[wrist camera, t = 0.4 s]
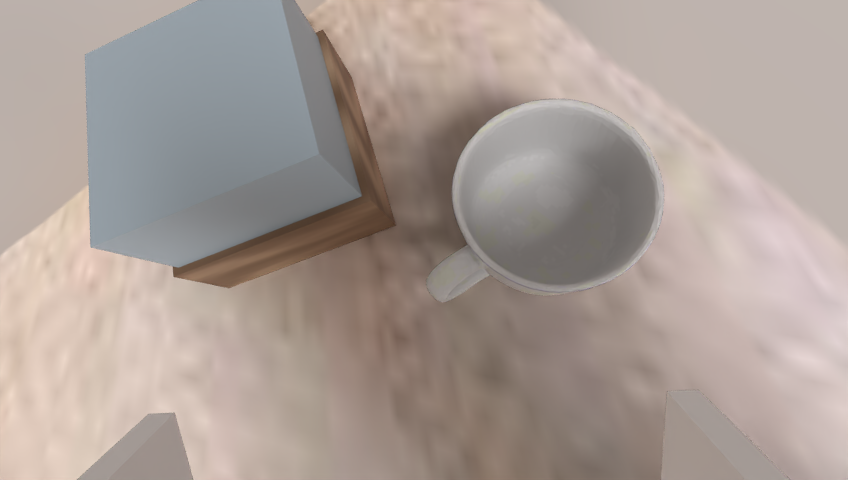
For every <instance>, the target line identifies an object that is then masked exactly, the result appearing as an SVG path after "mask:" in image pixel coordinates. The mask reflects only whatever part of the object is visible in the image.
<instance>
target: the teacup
mask: <svg viewBox="0 0 848 480" xmlns="http://www.w3.org/2000/svg"><path fill="white" fill-rule="evenodd" d="M452 204H453V210H454V214H455V218H456V221H457V224H458V226H459V228H460V230H461V232H462V234H463V237H464V238H465V240H466V242H467V245H466V246H465V247H463V248H461V249H459V250H458V251H456V252H455V253H453V254H452V255H450V256H448V257H447V258H446V259H445V260H443V261H442V262H441V263H440V264H439V265H437V266H436V267H435V268H434V270H433V271H432V272H431V273H430V274H429V276H428V278H427V280H426V286H427V289H428V291H429V293H430V294H431V295H432V296H433V297H434V298H435V299H436V300H437V301H440V302H447V301H450V300H452V299H453V298H455V297H457V296H458V295H460V294H462V293H464V292H465V291H466V290H468V289H469V288H471V287H472V286H474V285H475V284H476V283H478V282H479V281H481V280H482V279H484V278H486V277H488V276H490V275H491V276H492V277H494V278H495V279H497V280H498V281H500V282H501V283H503V284H505V285H507V286H509V287H511V288H513V289H516V290H518V291H521V292H525V293H529V294H534V295H548V296H550V295H562V294H567V293H572V292H576V291H583V290H587V289H590V288H593V287H596V286H599V285H602V284H604V283H606V282H608V281H610V280H612V279H614V278H616V277H617V276H619V275H621V274H622V273H624V272H625V271H627V270H628V269H630V268H631V267H632V266H633V265H634V264H635V263H636V262H637V261H638V260H639V259H640V258H641V256H642V255H643V254H644V253H645V251H646V250H647V249H648V247H649V246H650V244H651V243H652V241H653V239H654V238H655V235H656V233H657V230H658V228H659V226H660V223H661V218H662V214H663V206H664V186H663V181H662V177H661V174H660V171H659V167H658V165H657V162H656V160H655V158H654V156H653V154H652V152H651V150H650V148H649V147H648V146H647V144H646V143H645V142H644V140H643V139H642V138H641V136H640V135H639V134H638V133H637V132H636V130H635V129H634V128H633V127H631V126H629V125H628V124H627V123H626V122H625V121H623V120H622V119H621V118H619V117H618V116H616V115H614V114H613V113H611V112H610V111H607V110H605V109H603V108H600V107H598V106H596V105H593V104H590V103H586V102H582V101H576V100H570V99H544V100H536V101H532V102H527V103H523V104H520V105H518V106H514V107H512V108H509V109H507V110H505V111H503V112H502V113H500V114H498V115H497V116H495V117H493V118H492V119H490V120H489V121H487V122H486V123H485V124H484V126H482V127H481V128H480V129H479V130H478V132H477V133H476V134H475V135H474V136H473V137H472V138H471V139H470V140H469V142H468V143H467V145H466V146H465V148H464V149H463V151H462V153H461V155H460V157H459V159H458V162H457V165H456V169H455V173H454V176H453V182H452Z"/></svg>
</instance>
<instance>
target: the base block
mask: <svg viewBox="0 0 848 480" xmlns="http://www.w3.org/2000/svg"><path fill="white" fill-rule="evenodd" d="M316 35H317V36H318V39H319V43H320V46H321V50H322V53H323V57H324V61H325V64H326V68H327V71H328V75H329V79H330V82H331V86H332V89H333V93H334V97H335V100H336V104H337V108H338V111H339V115H340V118H341V122H342V126H343V129H344V133H345V136H346V140H347V144H348V147H349V151H350V154H351V158H352V162H353V165H354V169H355V173H356V176H357V180H358V183H359V187H360V191H361V194H362V196H361V197H359V198H356V199H354V200H351V201H349V202H346V203H343V204H341V205H338V206H336V207H333V208H331V209H328V210H326V211H323V212H320V213H318V214H315V215H313V216H310V217H308V218H305V219H302V220H300V221H297V222H295V223H292V224H290V225H287V226H284V227H282V228H279V229H277V230H274V231H272V232H269V233H267V234H264V235H261V236H259V237H256V238H254V239H251V240H249V241H246V242H243V243H241V244H238V245H236V246H233V247H231V248H228V249H225V250H223V251H220V252H218V253H215V254H212V255H210V256H207V257H205V258H202V259H200V260H197V261H194V262H192V263H189V264H187V265H184V266H182V267H179V268H178V267H174V266H173V275H174V277H177V278H182V279H187V280H192V281H197V282H202V283H207V284H212V285H217V286H222V287H227V288H230V287H233V286H236V285H238V284H241V283H244V282H246V281H249V280H252V279H254V278H257V277H260V276H262V275H265V274H268V273H270V272H273V271H276V270H278V269H281V268H284V267H286V266H289V265H292V264H294V263H297V262H300V261H302V260H305V259H308V258H310V257H313V256H316V255H318V254H321V253H324V252H326V251H329V250H332V249H334V248H337V247H340V246H342V245H345V244H348V243H350V242H353V241H356V240H358V239H361V238H364V237H366V236H369V235H372V234H374V233H377V232H380V231H382V230H385V229H387V228H390V227H393V226H395V225H396V224H395V221H394V217H393V214H392V211H391V207H390V204H389V201H388V197H387V194H386V191H385V187H384V184H383V181H382V177H381V174H380V171H379V167H378V164H377V161H376V157H375V154H374V151H373V147H372V144H371V141H370V137H369V134H368V131H367V127H366V124H365V121H364V117H363V114H362V111H361V107H360V104H359V101H358V97H357V94H356V91H355V87H354V84H353V81H352V77H351V76H350V74H349V72H348V71H347V69H346V67H345V66H344V64H343V62H342V61H341V59H340V57H339V56H338V54H337V52H336V51H335V49H334V47H333V46H332V44H331V43H330V41H329V39H328V38H327V36H326V34H325V33H324V31H323V30H321V31H319V32H317V33H316Z"/></svg>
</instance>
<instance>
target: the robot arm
mask: <svg viewBox="0 0 848 480" xmlns="http://www.w3.org/2000/svg"><path fill="white" fill-rule="evenodd" d="M77 480H193V476H192V473H191V469H190V465H189V462H188V458H187V455H186V451H185V448H184V444H183V441H182V437H181V434H180V430H179V426H178V423H177V419H176V416H175V413H158V414H148V415H147V416H146V417H145V418H144V419H143V420H141V421H140V422H139V423H138V424H137V425H136V426H135V427H134V428H133V429H132V430H130V431H129V432H128V433H127V434H126V435H125V436H124V437H123V438H122V439H121V440H120V441H118V442H117V443H116V444H115V445H114V446H113V447H112V448H111V449H110V450H109V451H108V452H106V453H105V454H104V455H103V456H102V457H101V458H100V459H99V460H98V461H97V462H96V463H94V464H93V465H92V466H91V467H90V468H89V469H88V470H87V471H86V472H85V473H84V474H82V475H81V476H80V477H79V478H78V479H77ZM661 480H790V479H789V478H788V477H787V476H786V475H785V474H784V473H783V472H782V471H781V470H780V469H779V468H778V467H777V466H776V465H775V464H774V463H773V462H772V461H771V460H770V459H769V458H768V457H767V456H766V455H765V454H764V453H763V452H762V451H760V450H759V449H758V448H757V447H756V446H755V445H754V444H753V443H752V442H751V441H750V440H749V439H748V438H747V437H746V436H745V435H744V434H743V433H742V432H741V431H740V430H739V429H738V428H737V427H736V426H735V425H734V424H733V423H732V422H731V421H730V420H729V419H728V418H727V417H726V416H725V415H724V414H723V413H722V412H721V411H720V410H719V409H718V408H717V407H716V406H715V405H713V404H712V403H711V402H710V401H709V400H708V399H707V398H706V397H705V396H704V395H703V394H702V393H701V392H700V391H699V390H683V391H667V395H666V410H665V425H664V440H663V454H662V469H661Z"/></svg>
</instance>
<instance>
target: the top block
mask: <svg viewBox="0 0 848 480" xmlns="http://www.w3.org/2000/svg"><path fill="white" fill-rule="evenodd" d="M85 69H86V71H85V73H86V107H87V139H88V140H87V142H88V175H89V210H90V244H91V248H96V249H100V250H104V251H109V252H113V253H117V254H122V255H126V256H130V257H135V258H139V259H143V260H148V261H152V262H157V263H161V264H165V265H170V266H174V267H178V268H179V267H182V266H184V265H187V264H189V263H192V262H194V261H197V260H200V259H202V258H205V257H207V256H210V255H212V254H215V253H218V252H220V251H223V250H225V249H228V248H231V247H233V246H236V245H238V244H241V243H243V242H246V241H249V240H251V239H254V238H256V237H259V236H261V235H264V234H267V233H269V232H272V231H274V230H277V229H279V228H282V227H284V226H287V225H290V224H292V223H295V222H297V221H300V220H302V219H305V218H308V217H310V216H313V215H315V214H318V213H320V212H323V211H326V210H328V209H331V208H333V207H336V206H338V205H341V204H343V203H346V202H349V201H351V200H354V199H356V198H359V197H361V196H362V194H361V191H360V187H359V183H358V180H357V176H356V173H355V169H354V165H353V162H352V158H351V154H350V151H349V147H348V144H347V140H346V136H345V133H344V129H343V126H342V122H341V118H340V115H339V111H338V108H337V104H336V100H335V97H334V93H333V89H332V86H331V82H330V79H329V75H328V71H327V68H326V64H325V61H324V57H323V53H322V50H321V46H320V43H319V39H318V36H317V35H316V33H315V32H314V30H313V28H312V27H311V25H310V24H309V22H308V21H307V19H306V17H305V16H304V14H303V13H302V11H301V9H300V8H299V6H298V5H297V3H296V2H295V0H198V1H196V2H194V3H192V4H190V5H187V6H185V7H183V8H181V9H179V10H177V11H175V12H173V13H171V14H169V15H167V16H164V17H162V18H160V19H158V20H156V21H154V22H152V23H150V24H148V25H146V26H144V27H142V28H140V29H138V30H135V31H133V32H131V33H129V34H127V35H125V36H123V37H121V38H119V39H117V40H114V41H112V42H111V43H108V44H106V45H104V46H102V47H100V48H98V49H96V50H94V51H92V52H89V53H88V54H85Z"/></svg>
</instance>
